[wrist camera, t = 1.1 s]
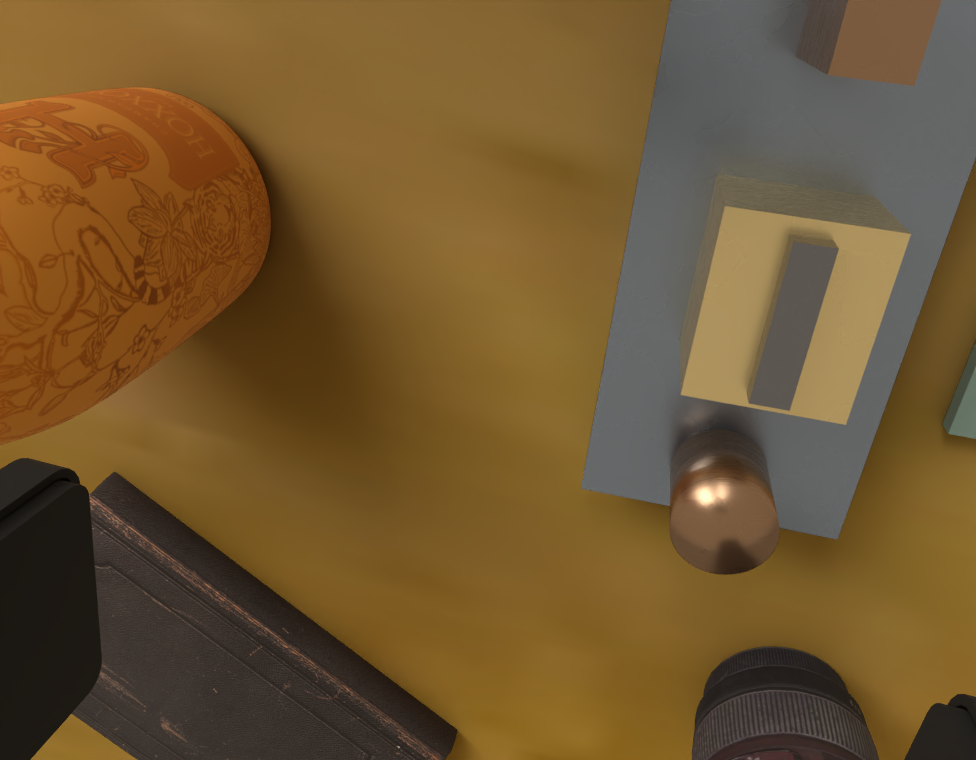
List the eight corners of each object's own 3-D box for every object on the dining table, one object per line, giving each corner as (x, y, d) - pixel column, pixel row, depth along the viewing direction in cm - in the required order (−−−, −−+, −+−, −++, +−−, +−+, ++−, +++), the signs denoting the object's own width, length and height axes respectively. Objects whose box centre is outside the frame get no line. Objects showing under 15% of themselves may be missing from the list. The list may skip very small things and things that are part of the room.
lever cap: (717, 173, 27) (726, 212, 22) (875, 196, 27) (918, 241, 22) (679, 340, 30) (680, 406, 25) (822, 364, 29) (850, 437, 25)
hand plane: (683, -69, 28) (688, -94, 19) (1002, -35, 26) (1158, -46, 18) (588, 445, 36) (563, 583, 28) (822, 490, 35) (870, 649, 27)
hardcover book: (310, 837, 53) (296, 872, 51) (10, 624, 50) (-18, 651, 48) (461, 722, 46) (451, 756, 44) (121, 465, 43) (93, 489, 41)
